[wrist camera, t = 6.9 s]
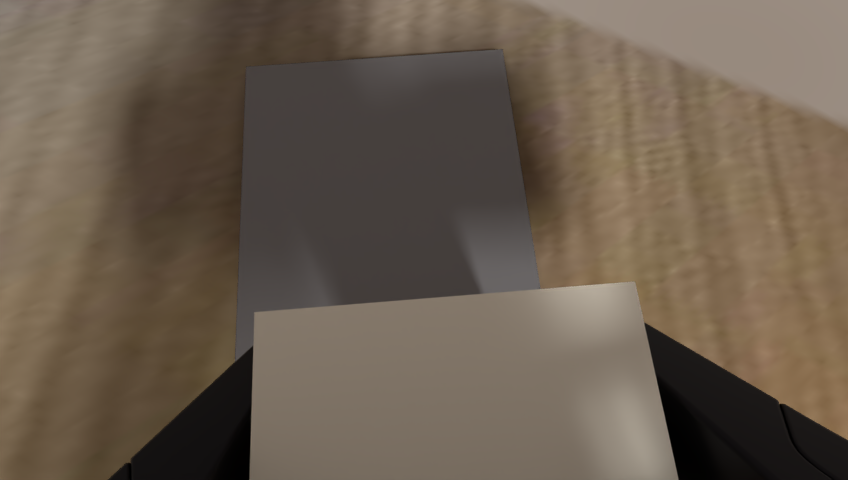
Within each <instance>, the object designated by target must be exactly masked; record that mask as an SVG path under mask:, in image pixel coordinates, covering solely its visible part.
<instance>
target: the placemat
mask: <svg viewBox="0 0 848 480" xmlns="http://www.w3.org/2000/svg"><path fill="white" fill-rule="evenodd" d="M536 289H540V283H539V277H538V271H537V264H536V258H535V252H534V245H533V239H532V233H531V226H530V220H529V214H528V207H527V201H526V195H525V188H524V182H523V176H522V170H521V163H520V157H519V151H518V144H517V138H516V132H515V125H514V119H513V113H512V106H511V100H510V94H509V87H508V81H507V75H506V69H505V62H504V56H503V50H502V49H499V50H484V51H469V52H454V53H440V54H425V55H410V56H396V57H381V58H366V59H352V60H337V61H322V62H307V63H293V64H278V65H263V66H249V67H246V82H245V108H244V135H243V162H242V188H241V215H240V242H239V268H238V295H237V321H236V348H235V362H236V361H237V360H238V359H239V358H240V357H241V356H242V355H243V354H244V353H245V352H246V351H247V350H248V349H250V348H251V347H252V346H253V344H254V312H263V311H275V310H287V309H300V308H312V307H325V306H337V305H349V304H362V303H374V302H387V301H399V300H412V299H424V298H436V297H449V296H461V295H474V294H486V293H499V292H511V291H523V290H536Z"/></svg>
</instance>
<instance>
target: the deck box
mask: <svg viewBox="0 0 848 480" xmlns="http://www.w3.org/2000/svg"><path fill="white" fill-rule="evenodd" d="M249 480H679V479H678V475H677V470H676V466H675V461H674V456H673V452H672V447H671V443H670V438H669V434H668V429H667V425H666V420H665V416H664V411H663V407H662V402H661V397H660V393H659V388H658V384H657V379H656V375H655V370H654V366H653V361H652V357H651V352H650V347H649V343H648V338H647V334H646V329H645V325H644V320H643V316H642V311H641V307H640V302H639V298H638V293H637V288H636V284H635V282H623V283H610V284H598V285H585V286H573V287H561V288H548V289H536V290H523V291H511V292H499V293H486V294H474V295H461V296H449V297H436V298H424V299H412V300H399V301H387V302H374V303H362V304H349V305H337V306H325V307H312V308H300V309H287V310H275V311H263V312H254V344H253V378H252V411H251V445H250V478H249Z"/></svg>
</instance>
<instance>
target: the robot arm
mask: <svg viewBox="0 0 848 480" xmlns="http://www.w3.org/2000/svg"><path fill="white" fill-rule="evenodd" d="M644 325H645V329H646V334H647V338H648V343H649V347H650V352H651V357H652V361H653V366H654V370H655V375H656V379H657V384H658V388H659V393H660V397H661V402H662V407H663V411H664V416H665V420H666V425H667V429H668V434H669V438H670V443H671V447H672V452H673V456H674V461H675V466H676V470H677V475H678V479H679V480H848V440H846V439H845V438H843V437H841V436H839V435H838V434H836V433H834V432H832V431H830V430H829V429H827V428H825V427H823V426H822V425H820V424H818V423H816V422H815V421H813V420H811V419H809V418H808V417H806V416H804V415H802V414H801V413H799V412H797V411H796V410H794V409H792V408H790V407H789V406H787V405H785V404H779V402H778V400H776V399H775V398H773V397H771V396H770V395H768V394H766V393H764V392H763V391H761V390H759V389H758V388H756V387H754V386H752V385H751V384H749V383H747V382H746V381H744V380H742V379H740V378H739V377H737V376H735V375H734V374H732V373H730V372H728V371H727V370H725V369H723V368H722V367H720V366H718V365H716V364H715V363H713V362H711V361H710V360H708V359H706V358H704V357H703V356H701V355H699V354H698V353H696V352H694V351H692V350H691V349H689V348H687V347H686V346H684V345H682V344H680V343H679V342H677V341H675V340H674V339H672V338H670V337H668V336H667V335H665V334H663V333H662V332H660V331H658V330H656V329H655V328H653V327H651V326H650V325H648V324H646V323H644ZM252 378H253V346H252V347H251V348H250V349H248V350H247V351H246V352H245V353H244V354H243V355H242V356H241V357H240V358H239V359H238V360H237V361H236V362H234V363H233V364H232V365H231V366H230V367H229V368H228V369H227V370H226V371H225V372H224V373H223V374H221V375H220V376H219V377H218V378H217V379H216V380H215V381H214V382H213V383H212V384H211V385H210V386H209V387H207V388H206V389H205V390H204V391H203V392H202V393H201V394H200V395H199V396H198V397H197V398H196V399H195V400H193V401H192V402H191V403H190V404H189V405H188V406H187V407H186V408H185V409H184V410H183V411H182V412H181V413H179V414H178V415H177V416H176V417H175V418H174V419H173V420H172V421H171V422H170V423H169V424H168V425H166V426H165V427H164V428H163V429H162V430H161V431H160V432H159V433H158V434H157V435H156V436H155V437H154V438H152V439H151V440H150V441H149V442H148V443H147V444H146V445H145V446H144V447H143V448H142V449H141V450H140V451H138V452H137V453H136V454H135V455H134V456H133V457H132V458H131V461H130V463H125V464H124V465H123V466H122V467H121V468H120V469H119V470H118V471H117V472H116V473H114V474H113V475H112V476H111V477H110V478H109V479H108V480H249V478H250V445H251V411H252Z"/></svg>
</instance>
